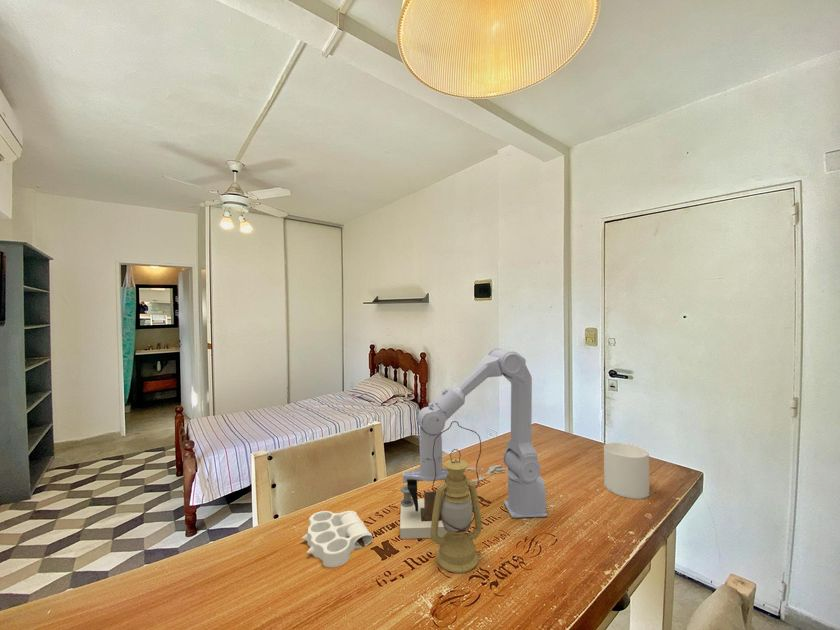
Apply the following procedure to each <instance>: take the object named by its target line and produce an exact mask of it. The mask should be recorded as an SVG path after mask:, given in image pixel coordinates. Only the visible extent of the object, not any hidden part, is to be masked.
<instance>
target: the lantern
mask: <svg viewBox="0 0 840 630" xmlns="http://www.w3.org/2000/svg"><path fill="white" fill-rule="evenodd" d="M453 423H456V424H457V426H458V427H459V428H461V429H464V430H467V431H470V432H473V433H475V435H477V436H478V439H479V445H480V450H479V454H478V457H477V459H476V464H475V465H476V467H475V468H476V472H475V473H476V479H478V482H477V485H476V482H473V481H472V480H473V479H469V478H467V476H466V474H464V473H465V471H466V470H465V469H466V468H469V463H468V462H467V461H465V460H463V459H461V451H460V450H459V449H457V448H453V450H451V452H450V453H449V454H450V455H449V456H450V459H448V460H446V461H444V463H443V465H444V468H445V469H447V471H448V472H449V474H447V475H446V482H445V481H444V482H442V483H440V484H439V485H438V486H437V488H436V491H435V490H434V483H435V482H436V481H435V478H436V463H435V460H434V463H435V478H434V481H432V488H431V490H432V492H434V494H435V492H436V494H435V502H434V508H433V514H432V522H431V538H430V539H431V541H432V542H433V543H434V544H436V545H438V547H439V548H438V549H437V551H436V554H435V558H436V561H437V563H438V565H439V566H440V567H441V568H442V569H444V570H445V571H447V572H450V573H453V574H464V573H467V572H470V571H471V570H473V569H474V568H475V567H476V566H477V565H478V563H479V554H478V553H477V551H476V550H475V549H476V548H475V547H476V545H475V543H474V540H476V539H477V538H478V537H479V535H480V534H481V532H482V529H483V522H482V513H481V508H480V502H479V501H480V500H479V496H478V491H477V488H478V487H479V483H480V481H479V473H478V472H477V468H478V463H479V460H480V456H481V453H482V441H481V436H480V435H479V434H478V433H477V432H476V431H474V430H471V429H469V428H466V427H463V426H461V425H459V422H458V421H456V420H455V421H451V422H450V425H449V427H448V428H446V429H445V430H444V429H443V430H442V431H441V433H440V434H441V435H442V434H443V433H445V432H446V431H448V430H449V429H450V428H451V427H452V425H453ZM440 434H439V435H440ZM439 435H438V436H439ZM438 436H437V437H438ZM437 437H436V438H437ZM436 438H435V440H436ZM435 440H434V445H435ZM454 451H457V452H459V458H458V459H457V458H453V459H452V453H453V452H454ZM433 454H434V446H433ZM433 459H434V455H433ZM439 515H440V516H441V517H439ZM439 521H442V523H443V526H444V528H445V530H446V531H447V533H446V534H445V535H444V536H443V537H439V536H438V523H439ZM473 522H474V526H475V527H474V529H473V531H470V532H468V531H469V530H470V528H471V525H472V523H473Z"/></svg>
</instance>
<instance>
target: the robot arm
mask: <svg viewBox="0 0 840 630" xmlns="http://www.w3.org/2000/svg"><path fill="white" fill-rule="evenodd" d="M526 363H527V360H526V358H525V357H523V356H522V355H521V354H520V353H518V352H517V351H512V350H511V351H510V350H505V349H503V348H498V347H497V348H494V349H491V350H490V351H489V352H488V354H485V355H484V356H482V358H481V360H480V362H479V363H478V364H477V365H476V366H475V367H474V368H472V370H471V371H470V372H469V373H468V374H467V375H465V377H464V378H463V379H462V380H461V381H460V382H459V383H458V384H457V386H449V387H447V388H443V389H442V390H441V394H440V395H438V397H437V398H436V399H434V400H433V402H432V401H430V402H429V403H428V406H425V407H422V408H421V409H420V410H419V411H418V414H417V417H416V422H417V424H418V425H419V469H414V470H408V471H403V472H402V483H404V484H405V483H406V485H407V487H408V490H409V492H410V494H411V499H413V501H414V505H415V511H418V499H419V498H418V482H433V481H434V478H435V463H436V478H435V481H434V482H437V481H438V482H439V481H444V482H446V475H447V474H449V472H448V471H447V468H443V444H442V443H443V438H442V434H440V433H441V432H443V431H444V429H445V425H446V422H447V421H448V420H449V419H450V418H451V417H452V416H453V415H454V414H455V413H457V412H458V410H460V408H461V407H462V406H464V405H465V401H466V397H467V396H468V394H470V393H472V392H473V390H475V389H476V388H477V387H479V386H480V384H483V382H485V381H486V380H487V379H488V378H494V377H496V378H497V377H504V378H505V379H506V381H508V382H510V440H508V441H507V442H506V448H505V450H504V453H503V457H502V459H503V463H504V465H505V467H507V499H504V500H503V504H504V506H505V508H506V509H507V511H508V513H509V515H510V516H511V518H513V519H514V518H515V519H519V518H539V517H540V518H541V517H542V518H545V517H547V516H548V514H547V500H546V499H547V494H546V486H545V485H546V484H545V481H544V479H543V477H542V476H541V475H540V474H541V466H540V463H539V461H538V453H537V451H536V449H535V447H534V445H533V443H532V412H533V411H532V409H533V407H532V406H533V405H532V400H533V399H532V397H533V395H532V394H533V392H532V391H533V388H532V387H533V378H532V375H531V373H530V371H529V369H528V367H527V364H526ZM439 434H440V435H439ZM438 435H439V436H438ZM437 436H438V437H437ZM436 437H437V438H436ZM435 438H436V440H435ZM434 440H435V445H434ZM433 446H434V454H433ZM433 455H434V459H433ZM434 460H435V463H434Z"/></svg>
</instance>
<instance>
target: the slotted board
mask: <svg viewBox="0 0 840 630" xmlns="http://www.w3.org/2000/svg"><path fill="white" fill-rule="evenodd" d="M400 492H401V493H403V499H400V512H399V513H400V521H399V540H400V539H401V540H406V539H408V540H409V539H411V540H412V539H432V538H431V522H432V521H425V520H424V521H422V518H424V498H418V511H415V505H414V501H413V498H412V496H411V494H410V492H409V490H408V487H407V484H406V485H403V486H401V487H400ZM439 518H441V516H440V515H439ZM446 533H447V531H446V530H445V528H444V526H443V523H442V521H441V520H439V523H438V536H439V537H443V536H444V535H445V534H446Z"/></svg>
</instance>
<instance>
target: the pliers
mask: <svg viewBox="0 0 840 630" xmlns="http://www.w3.org/2000/svg"><path fill="white" fill-rule="evenodd" d="M473 468H474V469H473ZM475 468H476V467H467V468H466V469H471V470H470V471H472V470H474V471H476V470H475ZM498 468H501V469H498ZM466 469H465V471H467V470H466ZM481 469H482V470H483V469H484V468H481ZM488 469H489V470H488V471H487V472H485V474H489V475H490V474H491V473H494V471H496V472H502V471H506V468H504V467H503V465H502V464H498V465H497V464H496V465H492V466H491V465H490V466H489V467H488ZM477 470H478V469H477ZM474 471H473V472H474ZM478 472H479V471H478ZM478 472H477V473H478ZM480 472H481V471H480ZM506 472H507V471H506ZM481 475H482V472H481V473H480V474H479V475H478V478H479V482H481V481H480V480H483V478H484V475H482V476H481ZM490 476H491V475H490ZM482 477H483V478H482ZM478 478H476V479H471V480H472V481H473V482H474V483H476V482H475V481H478ZM484 479H485V478H484ZM485 480H486V479H485ZM483 481H484V480H483Z"/></svg>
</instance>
